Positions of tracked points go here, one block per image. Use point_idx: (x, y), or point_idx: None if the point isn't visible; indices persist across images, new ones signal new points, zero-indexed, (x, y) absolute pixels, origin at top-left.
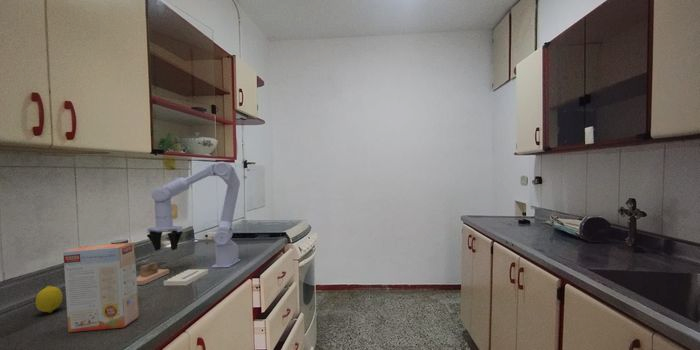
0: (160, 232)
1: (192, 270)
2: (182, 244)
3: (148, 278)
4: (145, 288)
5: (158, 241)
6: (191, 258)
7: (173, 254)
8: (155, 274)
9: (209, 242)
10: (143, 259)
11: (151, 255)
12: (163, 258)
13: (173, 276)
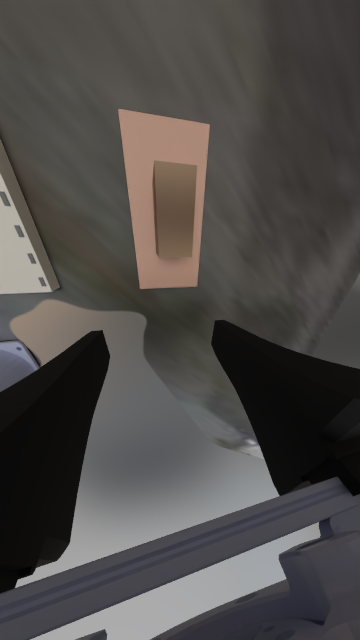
0: (283, 476)
1: (7, 280)
2: None
3: (124, 158)
4: (57, 54)
5: (239, 375)
6: (183, 386)
7: None
8: (140, 223)
9: (219, 443)
10: None
11: None
12: None
13: (6, 191)
